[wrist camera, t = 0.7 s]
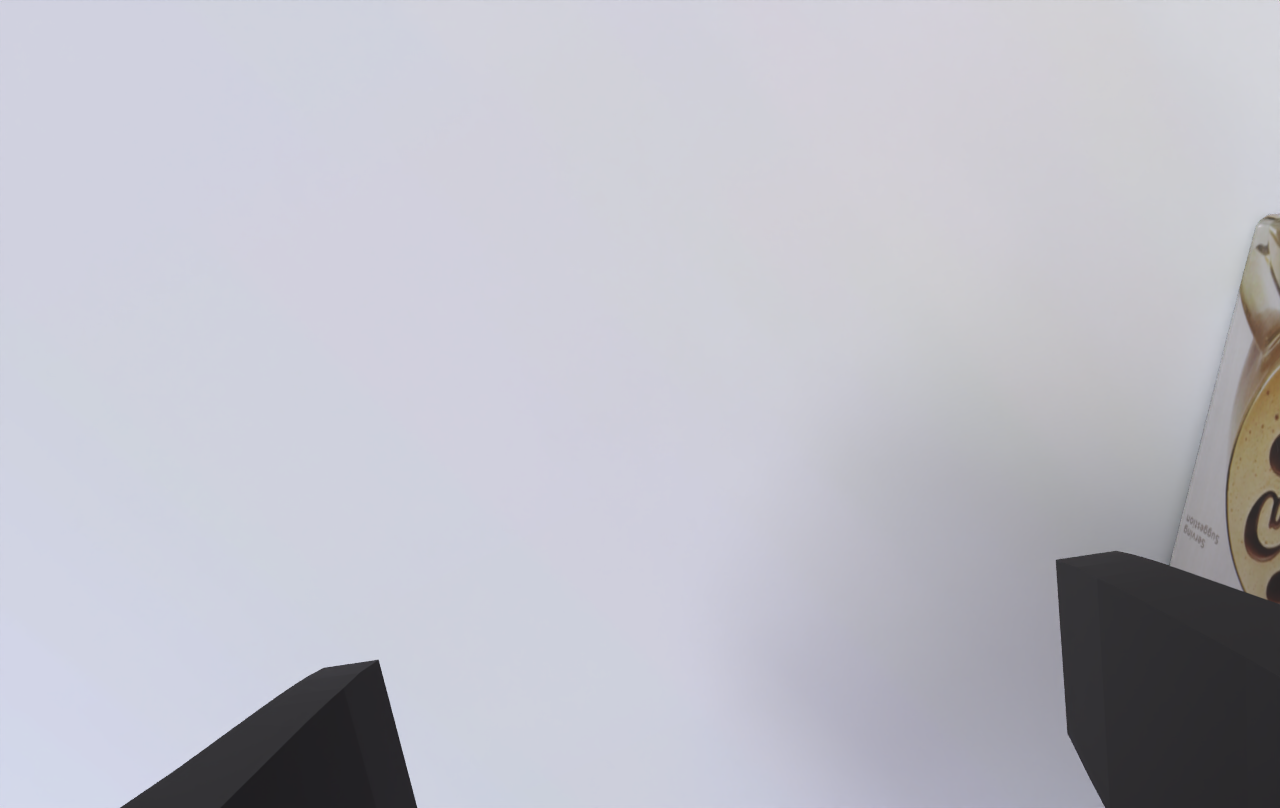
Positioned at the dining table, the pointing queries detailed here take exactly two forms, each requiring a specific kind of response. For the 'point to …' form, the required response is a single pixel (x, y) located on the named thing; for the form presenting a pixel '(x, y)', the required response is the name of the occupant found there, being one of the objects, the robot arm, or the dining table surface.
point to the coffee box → (1242, 442)
